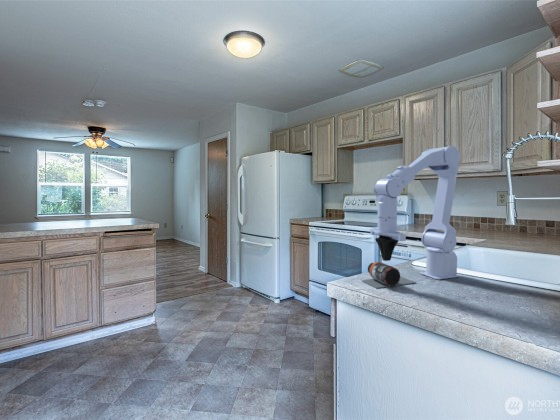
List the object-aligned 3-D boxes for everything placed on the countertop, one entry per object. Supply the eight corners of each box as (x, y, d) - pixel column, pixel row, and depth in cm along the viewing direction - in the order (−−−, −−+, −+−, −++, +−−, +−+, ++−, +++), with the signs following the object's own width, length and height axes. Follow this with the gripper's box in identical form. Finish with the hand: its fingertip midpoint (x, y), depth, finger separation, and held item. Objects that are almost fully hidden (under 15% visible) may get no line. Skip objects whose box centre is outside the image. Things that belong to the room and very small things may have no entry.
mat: (398, 276, 108) (398, 275, 108) (415, 283, 100) (416, 282, 100) (361, 281, 103) (361, 280, 103) (376, 288, 96) (376, 287, 96)
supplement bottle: (403, 281, 97) (382, 271, 108) (397, 264, 96) (376, 256, 107) (388, 290, 96) (368, 279, 107) (381, 273, 95) (362, 264, 106)
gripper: (362, 215, 103) (362, 256, 104) (391, 220, 89) (391, 266, 90) (380, 215, 105) (380, 254, 106) (411, 219, 92) (410, 264, 93)
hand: (386, 260), depth 99 cm, fingers closed
